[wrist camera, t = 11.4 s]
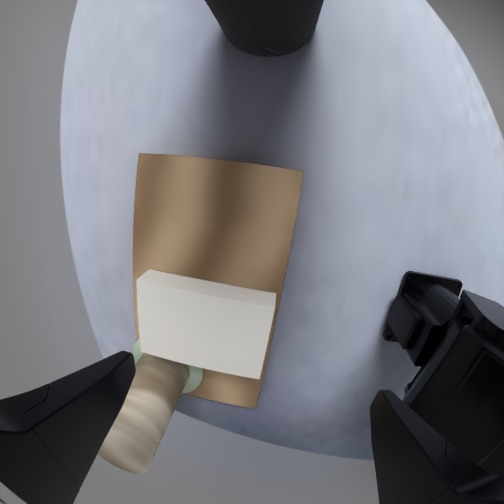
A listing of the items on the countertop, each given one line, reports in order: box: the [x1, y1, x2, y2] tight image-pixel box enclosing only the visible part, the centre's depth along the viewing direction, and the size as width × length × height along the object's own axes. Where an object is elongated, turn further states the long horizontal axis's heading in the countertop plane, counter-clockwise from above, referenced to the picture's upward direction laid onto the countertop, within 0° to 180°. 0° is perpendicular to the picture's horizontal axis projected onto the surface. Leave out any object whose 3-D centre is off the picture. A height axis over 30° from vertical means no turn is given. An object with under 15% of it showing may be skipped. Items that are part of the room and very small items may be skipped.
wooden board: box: [132, 153, 304, 408], centre depth 22 cm, size 13×22×2 cm, turn 172°
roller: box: [98, 353, 190, 474], centre depth 18 cm, size 5×5×11 cm
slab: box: [136, 269, 276, 379], centre depth 19 cm, size 9×6×4 cm, turn 82°
